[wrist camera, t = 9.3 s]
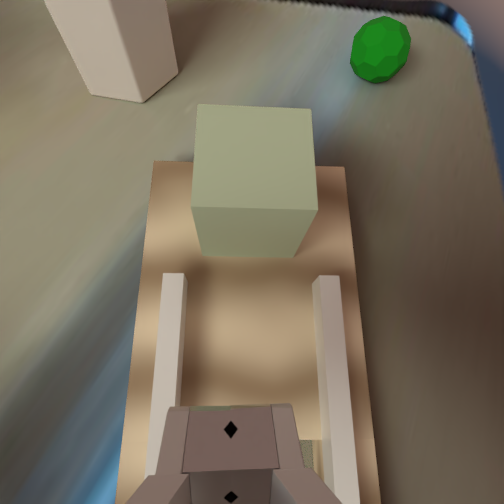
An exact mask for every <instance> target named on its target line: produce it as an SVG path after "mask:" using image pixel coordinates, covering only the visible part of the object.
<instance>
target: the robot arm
mask: <svg viewBox="0 0 504 504" xmlns="http://www.w3.org/2000/svg"><path fill="white" fill-rule="evenodd" d="M125 504H342V503H341V501H340V500H339V499H338V498H337V497H336V496H335V494H334V493H333V492H332V491H331V490H330V489H329V488H328V486H327V485H326V484H325V483H324V482H323V481H322V479H321V478H320V477H319V476H318V475H317V474H316V473H315V471H314V470H313V469H312V468H305V465H304V460H303V456H302V451H301V446H300V441H299V436H298V432H297V427H296V422H295V417H294V412H293V407H292V405H291V404H290V403H276V404H269V403H265V404H244V405H231V406H172V407H169V409H168V412H167V415H166V420H165V426H164V431H163V436H162V441H161V446H160V452H159V457H158V462H157V467H156V473H155V475H148V476H147V478H146V479H145V480H144V481H143V482H142V484H141V485H140V486H139V487H138V489H137V490H136V491H135V492H134V494H133V495H132V496H131V497H130V498H129V500H128V501H127V502H126V503H125Z"/></svg>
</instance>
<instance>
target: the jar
mask: <svg viewBox="0 0 504 504" xmlns="http://www.w3.org/2000/svg"><path fill="white" fill-rule="evenodd" d="M44 2H45V4H46V6H47V8H48V10H49V12H50V14H51V16H52V18H53V20H54V22H55V24H56V26H57V28H58V30H59V32H60V34H61V36H62V38H63V40H64V42H65V44H66V46H67V48H68V50H69V52H70V54H71V56H72V58H73V60H74V62H75V64H76V66H77V68H78V70H79V72H80V74H81V76H82V78H83V80H84V82H85V84H86V86H87V88H88V90H89V92H90V94H92V95H95V96H101V97H108V98H114V99H120V100H126V101H132V102H139V103H143V102H145V101H146V100H147V99H148V98H150V97H151V96H152V95H153V94H154V93H156V92H157V91H158V90H159V89H160V88H162V87H163V86H164V85H165V84H166V83H168V82H169V81H170V80H171V79H173V78H174V77H175V76H176V75H177V74H178V67H177V61H176V55H175V50H174V44H173V38H172V32H171V27H170V21H169V15H168V10H167V4H166V0H44Z"/></svg>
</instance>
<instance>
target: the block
mask: <svg viewBox="0 0 504 504" xmlns="http://www.w3.org/2000/svg"><path fill="white" fill-rule="evenodd" d="M191 210H192V215H193V219H194V223H195V227H196V231H197V235H198V239H199V244H200V248H201V252H202V256H228V257H278V258H293V257H294V255H295V253H296V251H297V249H298V247H299V246H300V244H301V242H302V240H303V238H304V236H305V234H306V232H307V230H308V229H309V227H310V225H311V223H312V221H313V219H314V217H315V215H316V213H317V212H318V199H317V185H316V172H315V158H314V144H313V130H312V116H311V109H300V108H277V107H254V106H231V105H209V104H198V107H197V122H196V136H195V150H194V165H193V179H192V193H191Z"/></svg>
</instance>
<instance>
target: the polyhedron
mask: <svg viewBox="0 0 504 504" xmlns="http://www.w3.org/2000/svg"><path fill="white" fill-rule="evenodd" d="M410 42H411V37H410V35H409V32H408V30H407V27H406V26H405V25H404V24H402V23H401V22H399V21H397V20H394V19H392V18H390V17H386V16H382V17H379V18H376V19H373V20H370V21H369V22H367V23H366V24H364V25H363V26H362V27H361V29H360V30H359V31H358V32H357V33H356V35H355V36H354V40H353V46H352V52H351V59H350V64H351V66H352V68H353V71H354V73H355V74H356V75H358V76H359V77H362V78H364V79H366V80H368V81H370V82H373V83H379V82H383V81H387V80H389V79H390V78H391V77H393V76H394V75H395V74H396V73H397V72H398V71H399V70H400V69H401V68H402V67H403V66H404V65H405V63H406V61H407V57H408V53H409V49H410Z"/></svg>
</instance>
